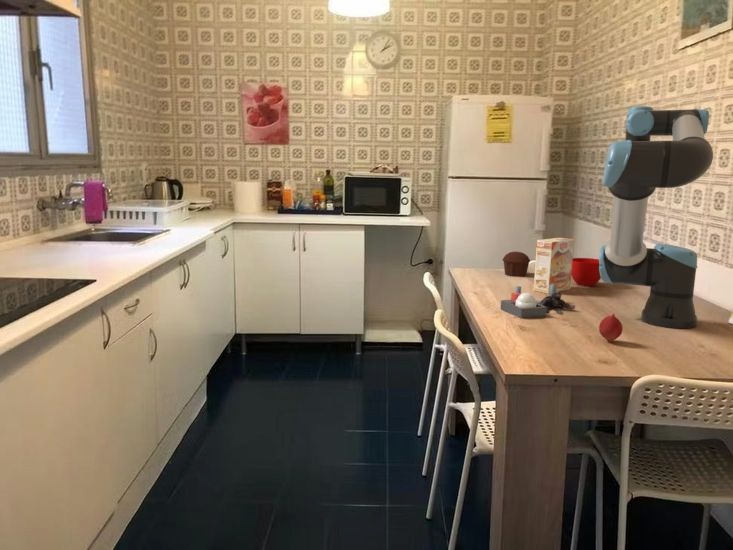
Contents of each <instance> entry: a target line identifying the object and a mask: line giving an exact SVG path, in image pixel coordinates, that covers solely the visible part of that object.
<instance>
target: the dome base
mask: <svg viewBox="0 0 733 550" xmlns="http://www.w3.org/2000/svg"><path fill="white" fill-rule="evenodd" d="M521 294H522V293H521ZM521 294H520V293H515V292H511V294H510V295H511V297H510V299H500V310H501V311H503V312H505V313H508V314H511V315H513V316H515V317H518V318H520V319H527V318H528V319H529V318H531V319H532V318H541V317H543V318H544V317H547V313H546V307H545V306H542V305H540V303H539V304H536V307H530V308H521V307H519V306H516V300H517V298H518V296H519V295H521Z"/></svg>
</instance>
